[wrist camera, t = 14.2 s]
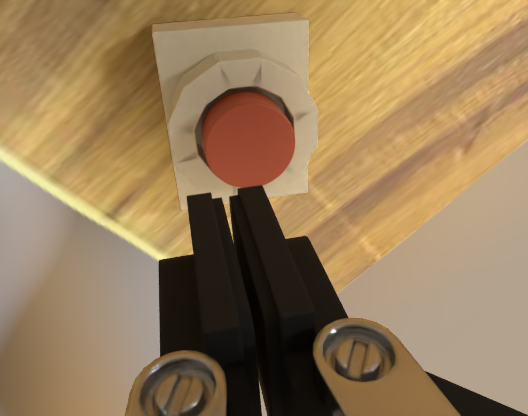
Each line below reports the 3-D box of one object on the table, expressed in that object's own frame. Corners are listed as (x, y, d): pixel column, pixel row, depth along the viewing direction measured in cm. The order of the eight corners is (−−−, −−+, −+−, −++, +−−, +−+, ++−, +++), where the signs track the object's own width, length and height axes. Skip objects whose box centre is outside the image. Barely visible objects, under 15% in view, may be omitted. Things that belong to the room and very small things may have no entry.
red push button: (196, 95, 20) (199, 108, 18) (285, 86, 20) (295, 97, 19) (206, 177, 22) (210, 194, 20) (287, 166, 22) (296, 182, 21)
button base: (151, 24, 21) (151, 40, 18) (296, 12, 22) (321, 25, 19) (178, 191, 26) (182, 229, 23) (297, 175, 27) (317, 209, 24)
